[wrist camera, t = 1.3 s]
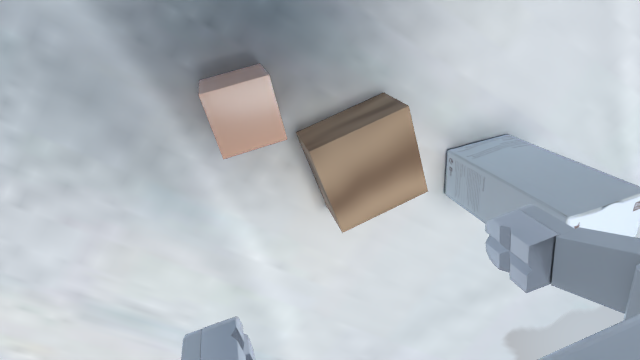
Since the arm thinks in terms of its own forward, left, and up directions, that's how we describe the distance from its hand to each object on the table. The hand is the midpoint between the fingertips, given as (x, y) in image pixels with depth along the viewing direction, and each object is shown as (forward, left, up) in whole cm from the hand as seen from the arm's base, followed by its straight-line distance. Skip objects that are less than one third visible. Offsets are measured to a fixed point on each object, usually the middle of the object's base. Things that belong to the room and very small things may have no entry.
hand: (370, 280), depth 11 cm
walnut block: (+8, +7, -23) cm, 25 cm away
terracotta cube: (0, -2, -23) cm, 23 cm away
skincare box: (+14, +21, -23) cm, 34 cm away
